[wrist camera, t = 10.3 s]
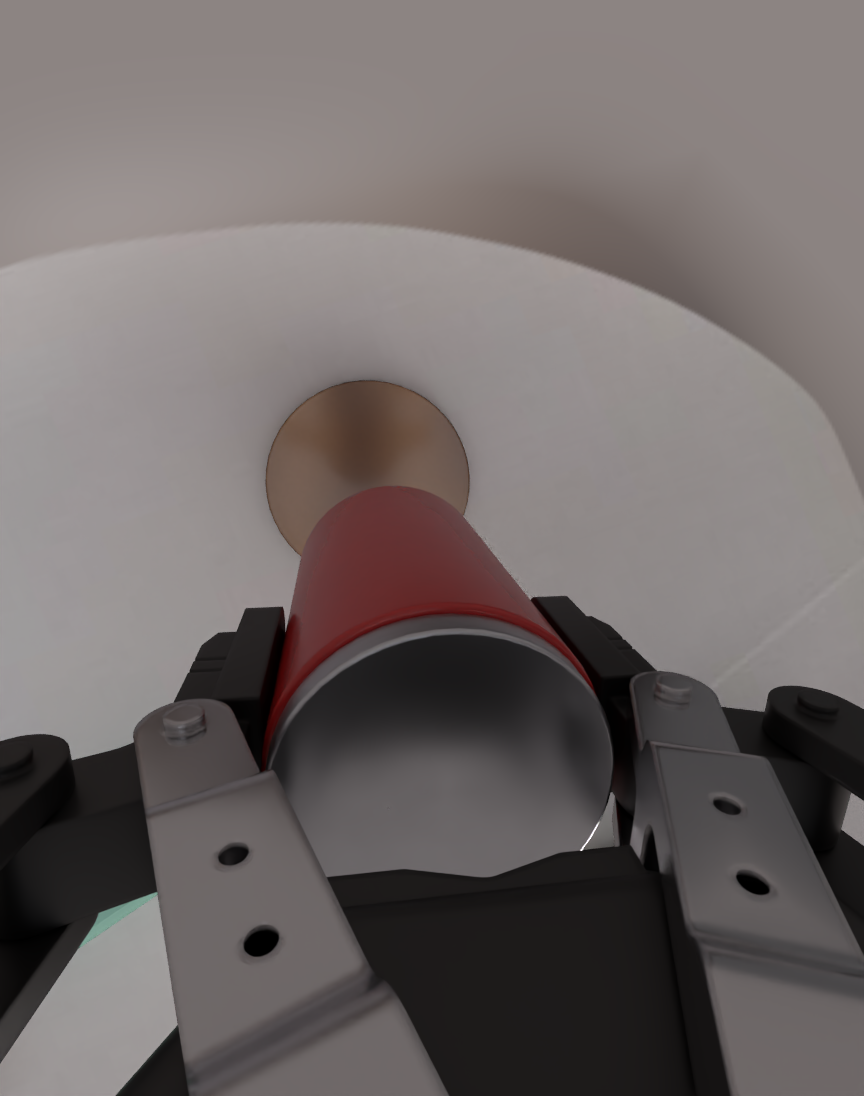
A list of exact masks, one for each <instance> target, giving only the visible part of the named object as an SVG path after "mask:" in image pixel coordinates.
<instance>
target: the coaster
mask: <svg viewBox="0 0 864 1096" xmlns="http://www.w3.org/2000/svg"><path fill="white" fill-rule="evenodd" d="M382 486H407V487H413V488H417V489H421V490H424V491H427V492H430V493H432V494H434V495H436V496H438V497H440V498H442V499H444V500H445V501H447V502H448V503H449V504H451V505H452V506H453V507H454V508H456V509H457V510H458V511H459V512H460V513H461V514H462V515H464V512H465V509H466V505H467V501H468V494H469V468H468V461H467V457H466V454H465V450H464V447H463V445H462V442H461V440H460V438H459V436H458V434H457V432H456V431H455V429H454V427H453V426H452V424H451V423H450V422H449V420H448V419H447V418H446V416H445V415H444V414H443V413H442V412H441V411H440V410H439V409H438V408H437V407H436V406H435V405H433V404H432V403H431V402H429V401H428V400H427V399H426V398H424V397H422V396H420V395H419V394H417V393H415V392H414V391H411V390H409V389H406V388H404V387H402V386H399V385H395V384H391V383H388V382H381V381H373V380H370V381H353V382H346V383H342V384H339V385H335V386H332V387H330V388H327V389H325V390H323V391H321V392H319V393H317V394H315V395H314V396H312V397H311V398H309V399H307V400H306V401H305V402H304V403H303V404H301V405H300V406H299V407H298V408H297V409H296V410H295V411H294V412H293V413H292V414H291V415H290V416H289V417H288V419H287V420H286V421H285V423H284V424H283V426H282V427H281V429H280V430H279V432H278V434H277V436H276V438H275V440H274V442H273V445H272V448H271V451H270V454H269V457H268V463H267V468H266V492H267V499H268V503H269V507H270V511H271V513H272V516H273V519H274V521H275V523H276V525H277V527H278V529H279V531H280V533H281V534H282V535H283V537H284V538H285V540H286V541H287V542H288V544H289V545H290V546H291V547H292V548H293V549H294V550H295V551H296V552H297V553H298V554H299V555H300V556H302V552H303V549H304V546H305V544H306V541H307V539H308V537H309V535H310V533H311V531H312V530H313V528H314V527H315V526H316V524H317V523H318V521H319V520H320V519H321V518H322V517H323V516H324V515H325V514H326V513H327V512H328V511H329V510H330V509H331V508H333V507H334V506H335V505H336V504H337V503H339V502H341V501H342V500H344V499H346V498H347V497H349V496H351V495H354V494H356V493H358V492H361V491H364V490H367V489H371V488H375V487H382Z"/></svg>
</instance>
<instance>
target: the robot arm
mask: <svg viewBox="0 0 864 1096" xmlns="http://www.w3.org/2000/svg"><path fill="white" fill-rule="evenodd" d="M531 602H532V603H533V604H534V605H535V607H536V608H537V609H538V610H539V612H540V613H541V614H542V615H543V617H544V618H545V619H546V620H547V622H548V623H549V624H550V625H551V627H552V628H553V629H554V630H555V632H556V633H557V634H558V635H559V637H560V638H561V639H562V640H563V642H564V643H565V644H566V645H567V647H568V648H569V649H570V650H571V652H572V653H573V654H574V656H575V657H576V658H577V659H578V661H579V662H580V663H581V664H582V666H583V668H584V669H585V671H586V673H587V675H588V676H589V678H590V680H591V682H592V684H593V687H594V690H595V692H596V695H597V698H598V700H599V702H600V703H601V705H602V707H603V709H604V712H605V714H606V717H607V720H608V722H609V725H610V730H611V735H612V740H613V746H614V773H613V783H612V788H611V792H613V794H614V795H615V799H614V806H613V814H612V823H613V836H614V847H608V848H598V849H589V850H579V851H569V852H560V853H557V854H554V855H552V856H549V857H546V858H543V859H540V860H538V861H535V862H532V863H529V864H527V865H524V866H521V867H518V868H515V869H513V870H510V871H507V872H504V873H502V874H499V875H496V876H492V877H474V876H465V875H456V874H446V873H437V872H428V871H419V870H410V869H398V870H389V871H379V872H370V873H360V874H351V875H341V876H332V877H326V875H325V873H324V871H323V869H322V867H321V865H320V863H319V861H318V859H317V857H316V855H315V853H314V850H313V848H312V846H311V844H310V842H309V840H308V838H307V836H306V834H305V832H304V830H303V828H302V826H301V824H300V822H299V820H298V818H297V815H296V813H295V811H294V809H293V807H292V805H291V803H290V801H289V799H288V797H287V795H286V793H285V791H284V789H283V787H282V785H281V783H280V781H279V778H278V777H277V775H276V773H275V772H274V770H272V769H269V770H266V771H263V772H261V754H262V746H263V741H264V736H265V731H266V726H267V721H268V716H269V712H270V707H271V702H272V697H273V692H274V687H275V682H276V678H277V673H278V668H279V663H280V658H281V653H282V648H283V643H284V639H285V634H286V632H285V617H284V610H283V607H265V608H246V609H245V611H244V614H243V616H242V619H241V622H240V624H239V627H238V629H237V632H222V633H218V634H216V635H215V636H214V637H212V638H211V639H209V640H208V641H207V642H205V643H204V644H203V645H202V646H201V648H200V650H199V652H198V654H197V656H196V658H195V661H194V662H193V664H192V666H191V668H190V673H188V674H187V676H186V678H185V680H184V682H183V684H182V686H181V689H180V691H179V693H178V695H177V697H176V699H175V701H174V703H171V704H168V705H165V706H163V707H160V708H158V709H156V710H154V711H153V712H151V713H149V714H148V715H147V716H145V717H144V718H143V719H142V720H141V721H140V722H139V723H138V724H137V726H136V727H135V730H134V732H133V738H134V743H131V744H129V745H126V746H124V747H121V748H118V749H115V750H111V751H107V752H103V753H99V754H95V755H92V756H88V757H84V758H80V759H76V760H72V759H71V754H70V749H69V746H68V743H67V742H66V741H65V740H64V739H62V738H60V737H57V736H53V735H46V734H35V735H25V736H19V737H15V738H11V739H7V740H4V741H0V1063H1V1062H2V1060H3V1059H4V1057H5V1056H6V1054H7V1053H8V1051H9V1050H10V1048H11V1047H12V1045H13V1044H14V1042H15V1041H16V1039H17V1038H18V1036H19V1035H20V1034H21V1032H22V1031H23V1029H24V1028H25V1026H26V1025H27V1023H28V1022H29V1020H30V1019H31V1017H32V1016H33V1014H34V1013H35V1011H36V1010H37V1008H38V1007H39V1005H40V1004H41V1003H42V1001H43V1000H44V998H45V997H46V995H47V994H48V992H49V991H50V989H51V988H52V986H53V985H54V983H55V982H56V980H57V979H58V977H59V976H60V974H61V973H62V972H63V970H64V969H65V967H66V966H67V964H68V963H69V961H70V960H71V958H72V957H73V955H74V954H75V952H76V951H77V949H78V948H79V946H80V945H81V943H82V942H83V941H84V939H85V938H86V936H87V935H88V933H89V932H90V930H91V929H92V927H93V925H94V923H95V922H96V919H97V917H98V914H99V913H100V912H103V911H105V910H108V909H111V908H114V907H117V906H119V905H122V904H125V903H128V902H130V901H133V900H136V899H139V898H142V897H144V896H147V895H150V894H153V893H155V892H157V894H158V900H159V907H160V913H161V919H162V926H163V932H164V939H165V945H166V952H167V958H168V965H169V971H170V977H171V984H172V990H173V997H174V1003H175V1010H176V1016H177V1023H178V1025H177V1026H176V1028H175V1029H174V1030H173V1031H172V1032H171V1033H170V1034H169V1036H168V1037H167V1038H166V1039H165V1040H164V1041H163V1042H162V1044H161V1045H160V1046H159V1047H158V1048H157V1049H156V1050H155V1051H154V1053H153V1054H152V1055H151V1056H150V1057H149V1058H148V1059H147V1061H146V1062H145V1063H144V1064H143V1065H142V1066H141V1067H140V1069H139V1070H138V1071H137V1072H136V1073H135V1074H134V1075H133V1076H132V1078H131V1079H130V1080H129V1081H128V1082H127V1083H126V1084H125V1086H124V1087H123V1088H122V1089H121V1090H120V1091H119V1092H118V1094H117V1095H116V1096H864V846H863V845H861V844H860V843H859V842H857V841H856V840H855V839H853V838H852V837H851V836H849V835H848V834H846V833H845V832H844V831H842V830H841V828H842V824H843V820H844V817H845V813H846V809H847V806H848V802H849V798H850V795H851V793H853V794H854V795H856V796H858V797H859V798H861V799H862V800H864V709H862V708H860V707H858V706H856V705H855V704H853V703H851V702H849V701H847V700H845V699H843V698H841V697H838V696H836V695H833V694H831V693H828V692H825V691H821V690H818V689H813V688H808V687H802V686H781V687H777V688H774V689H773V690H771V691H770V692H769V694H768V699H767V703H766V708H765V712H759V711H751V710H743V709H734V708H726V707H721V705H720V703H719V700H718V698H717V696H716V694H715V693H714V692H713V691H712V690H711V689H710V688H709V687H708V686H706V685H705V684H703V683H701V682H699V681H697V680H695V679H693V678H690V677H688V676H685V675H681V674H677V673H672V672H665V671H656V670H655V669H654V668H653V667H652V666H651V665H650V664H649V663H648V662H647V661H646V660H645V659H644V658H643V657H642V656H641V655H640V654H639V653H638V652H637V651H636V650H635V649H632V646H631V645H630V644H629V643H628V642H627V641H626V640H623V639H622V637H621V636H620V635H619V634H618V633H617V632H616V631H615V630H614V629H613V628H612V627H611V626H610V625H608V624H606V623H604V622H602V621H600V620H598V619H596V618H594V617H592V616H586V615H585V614H584V613H583V612H582V611H581V610H580V609H579V608H578V607H577V606H576V605H575V604H574V603H573V602H572V601H571V600H570V599H569V598H568V597H567V596H551V597H533V598H532V599H531Z"/></svg>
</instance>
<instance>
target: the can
mask: <svg viewBox="0 0 864 1096" xmlns="http://www.w3.org/2000/svg"><path fill="white" fill-rule="evenodd" d="M269 769H272V770H274V772H275V773H276V775H277V777H278V778H279V781H280V783H281V785H282V787H283V789H284V791H285V793H286V795H287V797H288V799H289V801H290V803H291V805H292V807H293V809H294V811H295V813H296V815H297V818H298V820H299V822H300V824H301V826H302V828H303V830H304V832H305V834H306V836H307V838H308V840H309V842H310V844H311V846H312V848H313V850H314V853H315V855H316V857H317V859H318V861H319V863H320V865H321V867H322V869H323V871H324V873H325V875H326V877H332V876H341V875H351V874H360V873H370V872H379V871H389V870H398V869H410V870H419V871H428V872H437V873H446V874H456V875H465V876H474V877H492V876H496V875H499V874H502V873H504V872H507V871H510V870H513V869H515V868H518V867H521V866H524V865H527V864H529V863H532V862H535V861H538V860H540V859H543V858H546V857H549V856H552V855H554V854H557V853H560V852H569V851H579V850H583V848H584V847H585V845H586V844H587V843H588V841H589V840H590V838H591V837H592V835H593V833H594V831H595V830H596V828H597V826H598V824H599V822H600V821H601V818H602V816H603V813H604V811H605V808H606V806H607V803H608V800H609V796H610V792H611V788H612V783H613V773H614V746H613V740H612V735H611V730H610V725H609V722H608V720H607V717H606V714H605V712H604V709H603V707H602V705H601V703H600V702H599V700H598V698H597V695H596V692H595V690H594V687H593V684H592V682H591V680H590V678H589V676H588V675H587V673H586V671H585V669H584V668H583V666H582V664H581V663H580V662H579V661H578V659H577V658H576V657H575V656H574V654H573V653H572V652H571V650H570V649H569V648H568V647H567V645H566V644H565V643H564V642H563V640H562V639H561V638H560V637H559V635H558V634H557V633H556V632H555V630H554V629H553V628H552V627H551V625H550V624H549V623H548V622H547V620H546V619H545V618H544V617H543V615H542V614H541V613H540V612H539V610H538V609H537V608H536V607H535V605H534V604H533V603H532V602H531V600H530V599H529V598H528V597H527V595H526V594H525V593H524V592H523V590H522V589H521V588H520V587H519V585H518V584H517V583H516V582H515V580H514V579H513V578H512V577H511V575H510V574H509V573H508V572H507V570H506V569H505V568H504V567H503V565H502V564H501V563H500V562H499V560H498V559H497V558H496V557H495V555H494V554H493V553H492V552H491V550H490V549H489V548H488V547H487V545H486V544H485V543H484V542H483V540H482V539H481V538H480V537H479V535H478V534H477V533H476V532H475V530H474V529H473V528H472V527H471V525H470V524H469V523H468V522H467V520H466V519H465V518H464V517H463V515H462V514H461V513H460V512H459V511H458V510H457V509H456V508H454V507H453V506H452V505H451V504H449V503H448V502H447V501H445V500H444V499H442V498H440V497H438V496H436V495H434V494H432V493H430V492H427V491H424V490H421V489H417V488H413V487H407V486H382V487H375V488H371V489H367V490H364V491H361V492H358V493H356V494H354V495H351V496H349V497H347V498H346V499H344V500H342V501H341V502H339V503H337V504H336V505H335V506H334V507H333V508H331V509H330V510H329V511H328V512H327V513H326V514H325V515H324V516H323V517H322V518H321V519H320V520H319V521H318V523H317V524H316V526H315V527H314V528H313V530H312V531H311V533H310V535H309V537H308V539H307V541H306V544H305V546H304V549H303V552H302V556H301V561H300V566H299V571H298V575H297V580H296V585H295V590H294V595H293V600H292V605H291V609H290V614H289V619H288V624H287V629H286V634H285V639H284V643H283V648H282V653H281V658H280V663H279V668H278V673H277V678H276V682H275V687H274V692H273V697H272V702H271V707H270V712H269V716H268V721H267V726H266V731H265V736H264V741H263V746H262V754H261V772H263V771H266V770H269Z"/></svg>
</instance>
